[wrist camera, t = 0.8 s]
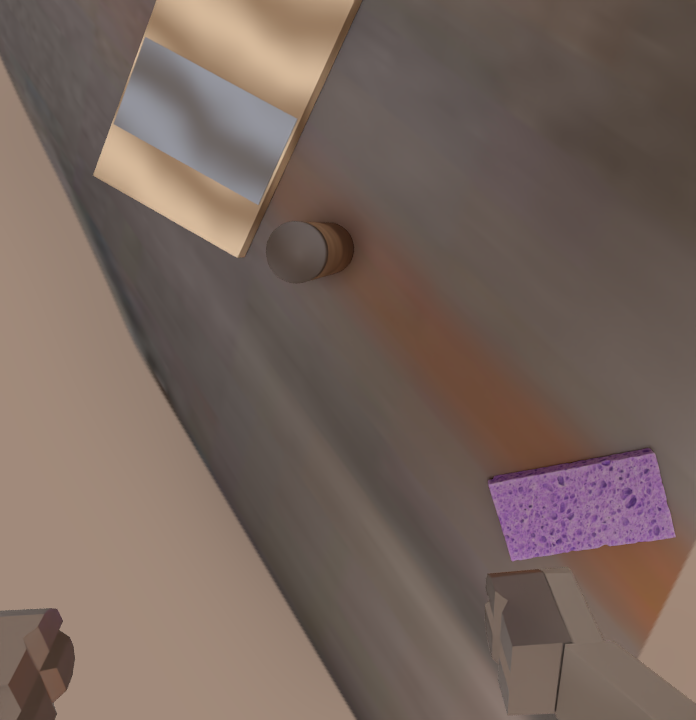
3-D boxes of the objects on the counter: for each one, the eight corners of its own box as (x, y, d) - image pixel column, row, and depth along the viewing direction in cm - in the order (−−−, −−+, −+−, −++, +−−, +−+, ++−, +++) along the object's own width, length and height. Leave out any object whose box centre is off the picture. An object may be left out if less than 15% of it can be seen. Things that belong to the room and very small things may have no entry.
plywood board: (216, -128, 44) (206, -141, 43) (382, -45, 43) (378, -55, 42) (104, 177, 51) (92, 175, 50) (244, 257, 50) (237, 257, 48)
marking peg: (318, 213, 48) (281, 210, 39) (362, 238, 48) (335, 239, 39) (296, 258, 49) (256, 265, 40) (339, 282, 49) (307, 294, 40)
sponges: (669, 527, 47) (676, 538, 46) (507, 552, 51) (508, 564, 49) (650, 443, 47) (656, 452, 45) (486, 475, 50) (486, 484, 48)
